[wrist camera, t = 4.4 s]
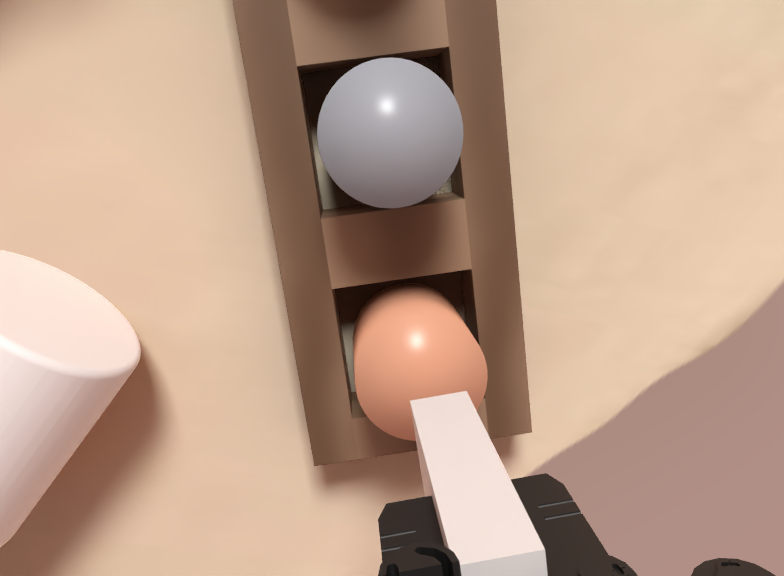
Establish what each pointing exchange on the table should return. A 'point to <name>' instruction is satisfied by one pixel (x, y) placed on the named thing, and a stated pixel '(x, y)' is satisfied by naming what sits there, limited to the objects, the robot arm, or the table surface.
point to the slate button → (390, 133)
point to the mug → (52, 376)
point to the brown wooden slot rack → (386, 225)
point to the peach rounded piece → (412, 355)
